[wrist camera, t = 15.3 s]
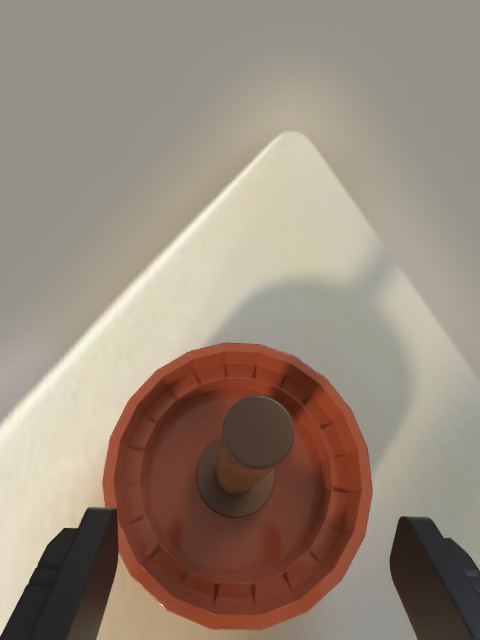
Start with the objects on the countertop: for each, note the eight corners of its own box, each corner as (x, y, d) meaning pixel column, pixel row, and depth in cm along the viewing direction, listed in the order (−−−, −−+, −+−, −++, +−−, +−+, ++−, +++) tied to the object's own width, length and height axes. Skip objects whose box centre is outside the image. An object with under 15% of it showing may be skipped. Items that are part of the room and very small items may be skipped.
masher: (272, 438, 26) (325, 364, 14) (273, 519, 24) (337, 514, 12) (199, 435, 26) (191, 358, 14) (193, 516, 24) (177, 509, 12)
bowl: (333, 375, 29) (355, 348, 25) (354, 610, 23) (390, 632, 18) (139, 366, 28) (126, 337, 24) (103, 606, 22) (76, 628, 17)
